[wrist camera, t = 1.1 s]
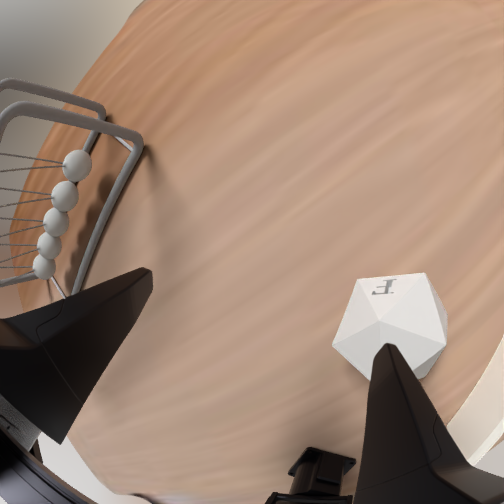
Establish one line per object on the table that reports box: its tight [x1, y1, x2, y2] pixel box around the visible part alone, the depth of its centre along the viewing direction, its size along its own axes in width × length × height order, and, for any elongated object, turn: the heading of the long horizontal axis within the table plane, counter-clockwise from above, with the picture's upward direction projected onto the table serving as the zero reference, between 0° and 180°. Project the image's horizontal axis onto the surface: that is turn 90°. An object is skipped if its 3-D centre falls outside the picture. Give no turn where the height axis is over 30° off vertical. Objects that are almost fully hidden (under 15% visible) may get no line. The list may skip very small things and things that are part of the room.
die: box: [332, 273, 448, 381], centre depth 17 cm, size 8×9×10 cm
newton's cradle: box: [0, 78, 144, 299], centre depth 23 cm, size 30×10×18 cm, turn 142°
